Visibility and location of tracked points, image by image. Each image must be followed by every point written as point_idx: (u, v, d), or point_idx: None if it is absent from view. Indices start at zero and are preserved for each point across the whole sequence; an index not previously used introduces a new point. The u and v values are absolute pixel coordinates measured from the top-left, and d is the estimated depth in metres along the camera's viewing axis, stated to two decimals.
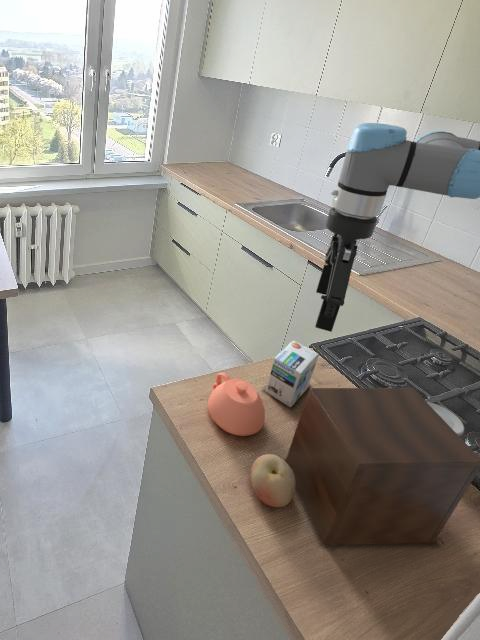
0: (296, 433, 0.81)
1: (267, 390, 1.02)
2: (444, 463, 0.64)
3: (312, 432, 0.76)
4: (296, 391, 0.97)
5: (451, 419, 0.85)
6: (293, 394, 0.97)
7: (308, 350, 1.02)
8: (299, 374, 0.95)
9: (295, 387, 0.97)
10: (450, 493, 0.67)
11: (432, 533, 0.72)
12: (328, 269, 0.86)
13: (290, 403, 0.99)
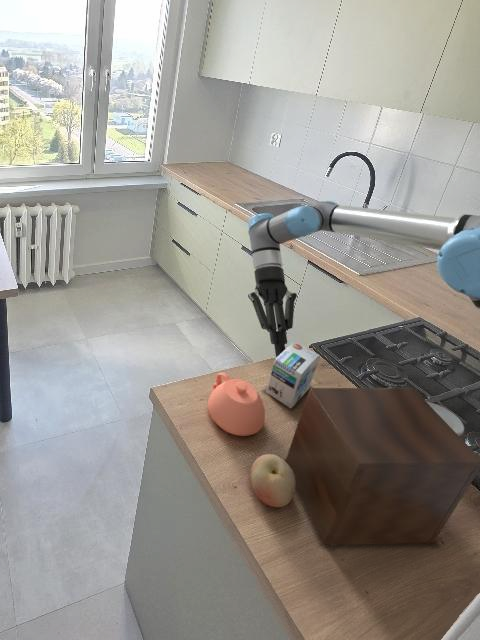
0: (296, 433, 0.81)
1: (268, 391, 1.02)
2: (444, 463, 0.64)
3: (312, 432, 0.76)
4: (297, 392, 0.97)
5: (451, 419, 0.85)
6: (293, 395, 0.97)
7: (309, 351, 1.02)
8: (300, 375, 0.95)
9: (295, 388, 0.96)
10: (450, 493, 0.67)
11: (432, 533, 0.72)
12: None
13: (290, 404, 0.98)
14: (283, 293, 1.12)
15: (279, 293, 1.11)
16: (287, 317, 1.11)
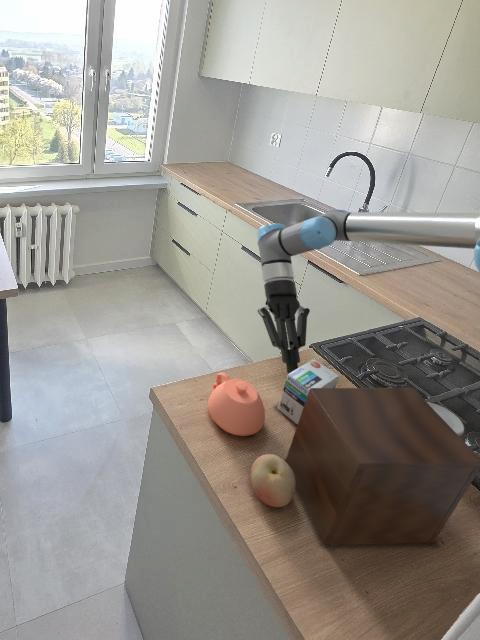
0: (296, 433, 0.81)
1: (279, 407, 0.98)
2: (444, 463, 0.64)
3: (312, 432, 0.76)
4: None
5: (451, 419, 0.85)
6: None
7: (328, 371, 0.96)
8: None
9: None
10: (450, 493, 0.67)
11: (432, 533, 0.72)
12: None
13: None
14: (295, 308, 1.06)
15: (291, 308, 1.05)
16: (299, 334, 1.04)
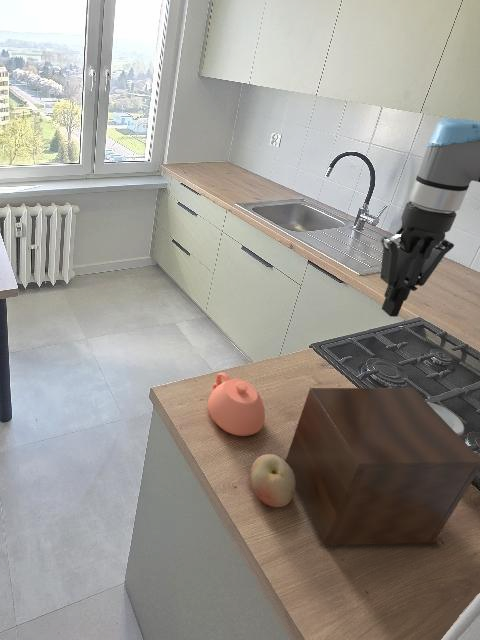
0: (296, 433, 0.81)
1: None
2: (444, 463, 0.64)
3: (312, 432, 0.76)
4: None
5: (451, 419, 0.85)
6: None
7: None
8: None
9: None
10: (450, 493, 0.67)
11: (432, 533, 0.72)
12: None
13: None
14: (435, 243, 0.78)
15: (431, 246, 0.77)
16: (423, 271, 0.81)
